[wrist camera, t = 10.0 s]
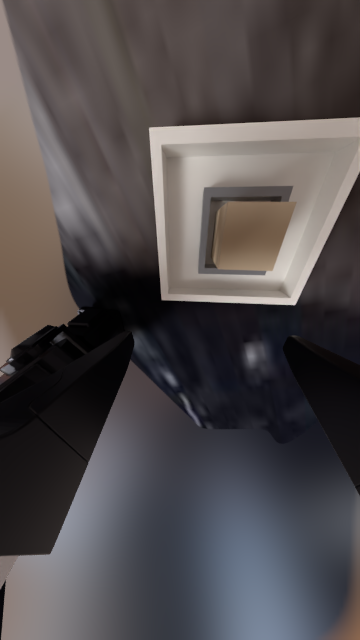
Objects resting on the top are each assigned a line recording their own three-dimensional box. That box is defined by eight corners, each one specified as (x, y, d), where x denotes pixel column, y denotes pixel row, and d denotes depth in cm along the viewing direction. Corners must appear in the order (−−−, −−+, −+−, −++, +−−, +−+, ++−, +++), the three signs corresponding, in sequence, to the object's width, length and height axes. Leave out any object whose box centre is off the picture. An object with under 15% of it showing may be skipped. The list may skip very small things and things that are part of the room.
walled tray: (281, 294, 18) (295, 305, 16) (165, 290, 19) (161, 300, 17) (343, 141, 11) (386, 115, 9) (158, 148, 12) (149, 127, 10)
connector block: (247, 257, 16) (272, 270, 11) (210, 256, 16) (218, 269, 11) (258, 212, 14) (296, 201, 8) (215, 211, 14) (228, 201, 9)
